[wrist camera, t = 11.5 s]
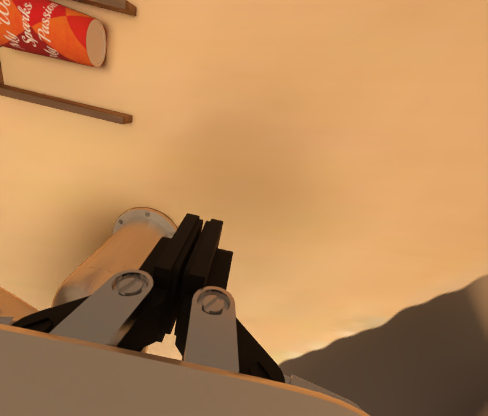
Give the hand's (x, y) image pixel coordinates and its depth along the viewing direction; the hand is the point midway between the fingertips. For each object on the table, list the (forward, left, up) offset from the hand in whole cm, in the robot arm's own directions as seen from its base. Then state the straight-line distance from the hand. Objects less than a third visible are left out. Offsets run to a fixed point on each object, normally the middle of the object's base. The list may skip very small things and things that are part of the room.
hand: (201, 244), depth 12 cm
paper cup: (+8, +21, -28) cm, 36 cm away
